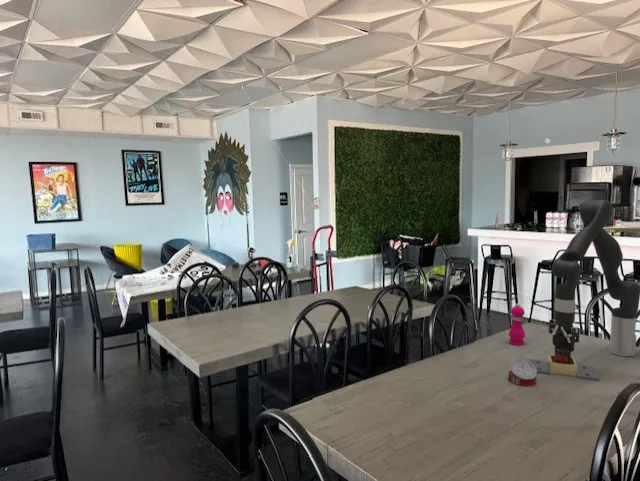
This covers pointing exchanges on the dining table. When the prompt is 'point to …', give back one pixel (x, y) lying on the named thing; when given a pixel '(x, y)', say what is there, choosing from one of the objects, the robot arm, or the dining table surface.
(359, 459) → the dining table surface
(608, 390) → the dining table surface
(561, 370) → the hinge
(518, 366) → the canned food
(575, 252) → the robot arm
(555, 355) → the deodorant
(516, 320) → the pepper mill
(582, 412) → the dining table surface
